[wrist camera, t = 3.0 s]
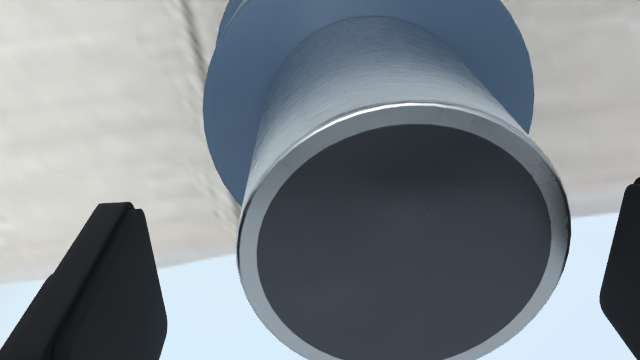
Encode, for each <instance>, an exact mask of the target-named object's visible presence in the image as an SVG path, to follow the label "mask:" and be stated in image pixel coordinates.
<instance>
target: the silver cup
mask: <svg viewBox="0 0 640 360" xmlns="http://www.w3.org/2000/svg"><path fill="white" fill-rule="evenodd" d="M570 238H571V216H570V209H569V204H568V199H567V194H566V192H565V189H564V187H563V184H562V181H561V179H560V177H559V175H558V173H557V171H556V170H555V168H554V166H553V165H552V163H551V161H550V160H549V159H548V157H547V156H546V155H545V154H544V153H543V151H542V150H541V149H540V148H539V147H538V145H537V144H536V143H535V142H534V141H533V140H532V139H531V138H530V136H529V135H528V134H527V133H526V132H525V131H524V130H523V129H522V128H521V126H520V125H519V124H518V123H517V122H516V121H515V120H514V119H513V117H512V116H511V115H510V114H509V113H508V112H507V111H506V110H505V109H504V107H503V106H502V105H501V104H500V103H499V102H498V101H497V100H496V98H495V97H494V96H493V95H492V94H491V93H490V92H489V91H488V90H487V88H486V87H485V86H484V85H483V84H482V83H481V82H480V81H479V80H478V78H477V77H476V76H475V75H474V74H473V73H472V72H471V71H470V69H469V68H468V67H467V66H466V65H465V64H464V63H463V62H462V61H461V59H460V58H459V57H458V56H457V55H456V54H455V53H454V52H453V50H452V49H451V48H450V47H449V46H448V45H447V44H446V43H444V42H443V41H442V40H441V39H440V38H439V37H437V36H436V35H434V34H433V33H431V32H430V31H428V30H427V29H424V28H422V27H420V26H418V25H416V24H414V23H411V22H407V21H404V20H401V19H396V18H390V17H381V16H367V17H358V18H351V19H347V20H343V21H339V22H337V23H334V24H332V25H329V26H327V27H324V28H322V29H321V30H319V31H317V32H315V33H313V34H312V35H310V36H309V37H308V38H306V39H305V40H303V41H302V42H301V43H299V44H298V45H297V46H296V47H295V48H294V49H293V50H292V51H291V52H290V53H289V54H288V56H287V57H286V58H285V59H284V61H283V62H282V63H281V64H280V66H279V68H278V69H277V71H276V73H275V74H274V76H273V78H272V80H271V83H270V85H269V88H268V90H267V94H266V98H265V102H264V106H263V111H262V115H261V120H260V125H259V129H258V134H257V139H256V144H255V148H254V153H253V158H252V162H251V167H250V172H249V177H248V181H247V186H246V191H245V195H244V200H243V205H242V210H241V214H240V219H239V224H238V229H237V239H236V259H237V260H236V261H237V268H238V273H239V277H240V282H241V284H242V287H243V289H244V292H245V294H246V297H247V299H248V301H249V303H250V305H251V306H252V308H253V310H254V311H255V313H256V315H257V316H258V318H259V319H260V320H261V321H262V323H263V324H264V325H265V326H266V328H267V329H268V330H269V331H270V332H271V333H272V334H273V335H274V336H275V337H276V338H277V339H278V340H279V341H281V342H282V343H283V344H285V345H286V346H287V347H289V348H290V349H291V350H293V351H294V352H296V353H298V354H299V355H301V356H303V357H305V358H306V359H308V360H476V359H478V358H480V357H482V356H484V355H486V354H488V353H490V352H492V351H493V350H495V349H496V348H498V347H500V346H501V345H503V344H504V343H506V342H507V341H509V340H510V339H511V338H512V337H514V336H515V335H516V334H517V333H519V332H520V331H521V330H522V329H523V328H524V327H525V326H526V325H527V324H528V323H529V322H530V321H531V320H532V319H533V318H534V317H535V316H536V315H537V314H538V313H539V311H540V310H541V309H542V308H543V306H544V305H545V304H546V303H547V301H548V299H549V298H550V296H551V294H552V293H553V291H554V290H555V288H556V286H557V284H558V282H559V279H560V277H561V275H562V272H563V270H564V267H565V264H566V260H567V257H568V253H569V246H570Z"/></svg>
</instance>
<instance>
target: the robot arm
mask: <svg viewBox="0 0 640 360" xmlns="http://www.w3.org/2000/svg"><path fill="white" fill-rule="evenodd" d="M600 305H601V309H602V311H603V313H604V314H605V316H606V317H607V318H608V320H609V321H610V323H611V324H612V326H613V327H614V328H615V330H616V331H617V332H618V334H619V335H620V337H621V338H622V339H623V341H624V342H625V344H626V345H627V346H628V348H629V349H630V350H631V352H632V353H633V355H634V356H635V357H636V358H637V360H640V177H639V178H637V179H636V180H635V182H634V184H631V185H629V186H628V187H627V188H626V190H625V193H624V197H623V201H622V205H621V209H620V213H619V218H618V221H617V226H616V230H615V234H614V238H613V242H612V246H611V250H610V255H609V259H608V263H607V266H606V271H605V275H604V279H603V283H602V287H601V291H600ZM166 334H167V315H166V311H165V306H164V302H163V297H162V292H161V288H160V283H159V279H158V274H157V269H156V265H155V260H154V255H153V251H152V246H151V242H150V237H149V232H148V228H147V223H146V219H145V215H144V212H143V210H142V209H135V208H134V206H133V204H132V203H131V202H120V203H101V204H99V205H98V206H97V207H96V209H95V210H94V212H93V213H92V215H91V216H90V218H89V219H88V221H87V222H86V224H85V226H84V227H83V229H82V230H81V232H80V233H79V235H78V236H77V238H76V239H75V241H74V243H73V244H72V246H71V247H70V249H69V250H68V252H67V253H66V255H65V256H64V258H63V259H62V261H61V263H60V264H59V266H58V267H57V269H56V270H55V272H54V273H53V274H51V275H50V276H49V277H48V279H47V280H46V281H45V283H44V284H43V286H42V287H41V289H40V290H39V292H38V294H37V295H36V296H35V298H34V299H33V301H32V302H31V304H30V305H29V307H28V309H27V310H26V312H25V313H24V315H23V316H22V318H21V319H20V321H19V322H18V324H17V325H16V327H15V328H14V330H13V331H12V333H11V334H10V336H9V338H8V339H7V341H6V342H5V344H4V345H3V347H2V348H1V350H0V360H159V358H160V355H161V351H162V348H163V344H164V341H165V338H166Z"/></svg>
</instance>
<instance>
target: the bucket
mask: <svg viewBox="0 0 640 360" xmlns="http://www.w3.org/2000/svg"><path fill="white" fill-rule="evenodd" d="M367 16H381V17H390V18H396V19H401V20H404V21H407V22H411V23H414V24H416V25H418V26H420V27H422V28H424V29H427V30H428V31H430V32H431V33H433V34H434V35H436V36H437V37H439V38H440V39H441V40H442V41H443V42H444V43H446V44H447V45H448V46H449V47H450V48H451V49H452V50H453V52H454V53H455V54H456V55H457V56H458V57H459V58H460V59H461V61H462V62H463V63H464V64H465V65H466V66H467V67H468V68H469V69H470V71H471V72H472V73H473V74H474V75H475V76H476V77H477V78H478V80H479V81H480V82H481V83H482V84H483V85H484V86H485V87H486V88H487V90H488V91H489V92H490V93H491V94H492V95H493V96H494V97H495V98H496V100H497V101H498V102H499V103H500V104H501V105H502V106H503V107H504V109H505V110H506V111H507V112H508V113H509V114H510V115H511V116H512V117H513V119H514V120H515V121H516V122H517V123H518V124H519V125H520V126H521V128H522V129H523V130H524V131H525V132H526V133H527V134H529V130H530V125H531V120H532V116H533V103H534V85H533V72H532V68H531V63H530V58H529V53H528V51H527V48H526V45H525V43H524V40H523V37H522V34H521V32H520V30H519V29H518V27H517V25H516V23H515V21H514V20H513V18H512V16H511V14H510V13H509V12H508V10H507V9H506V8H505V6H504V5H503V4H502V3H501V1H500V0H230V1H229V3H228V5H227V7H226V9H225V12H224V15H223V18H222V20H221V23H220V27H219V31H218V36H217V41H216V48H215V51H214V53H213V56H212V59H211V62H210V65H209V67H208V72H207V77H206V82H205V87H204V98H203V119H204V130H205V135H206V140H207V144H208V149H209V152H210V154H211V157H212V160H213V162H214V165H215V168H216V170H217V171H218V173H219V175H220V177H221V179H222V181H223V183H224V185H225V186H226V187H227V189H228V190H229V192H230V193H231V194H232V196H233V197H234V199H235V200H236V201H237V202H238V203H239V204H240V206H241V207H242V205H243V200H244V195H245V191H246V186H247V181H248V177H249V172H250V167H251V162H252V158H253V153H254V148H255V144H256V139H257V134H258V129H259V125H260V120H261V115H262V111H263V106H264V102H265V98H266V94H267V90H268V88H269V85H270V83H271V80H272V78H273V76H274V74H275V73H276V71H277V69H278V68H279V66H280V64H281V63H282V62H283V61H284V59H285V58H286V57H287V56H288V54H289V53H290V52H291V51H292V50H293V49H294V48H295V47H296V46H297V45H298V44H299V43H301V42H302V41H303V40H305V39H306V38H308V37H309V36H310V35H312V34H313V33H315V32H317V31H319V30H321V29H322V28H324V27H327V26H329V25H332V24H334V23H337V22H339V21H343V20H347V19H351V18H358V17H367Z"/></svg>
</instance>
